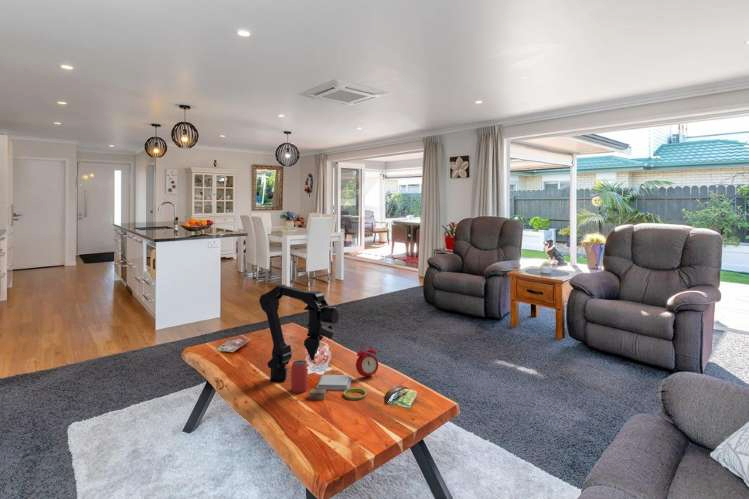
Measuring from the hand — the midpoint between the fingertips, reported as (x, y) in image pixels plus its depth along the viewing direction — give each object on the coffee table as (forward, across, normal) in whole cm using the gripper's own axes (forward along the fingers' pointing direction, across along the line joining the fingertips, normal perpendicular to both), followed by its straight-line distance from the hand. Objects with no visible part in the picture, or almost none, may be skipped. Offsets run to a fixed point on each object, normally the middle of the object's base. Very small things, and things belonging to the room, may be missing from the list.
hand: (314, 356), depth 179 cm
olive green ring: (+20, -9, -19) cm, 29 cm away
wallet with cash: (+19, -7, -36) cm, 41 cm away
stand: (+13, +3, -9) cm, 16 cm away
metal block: (+13, -12, -3) cm, 18 cm away
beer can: (+14, -4, +5) cm, 15 cm away
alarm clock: (+13, +13, -23) cm, 30 cm away
